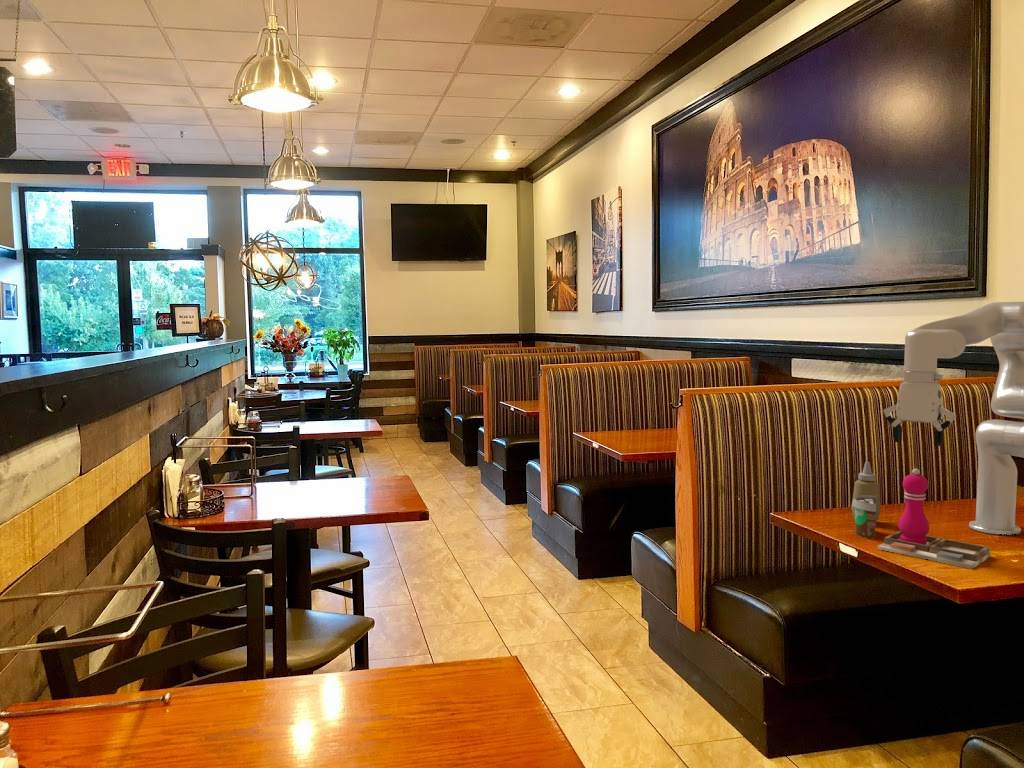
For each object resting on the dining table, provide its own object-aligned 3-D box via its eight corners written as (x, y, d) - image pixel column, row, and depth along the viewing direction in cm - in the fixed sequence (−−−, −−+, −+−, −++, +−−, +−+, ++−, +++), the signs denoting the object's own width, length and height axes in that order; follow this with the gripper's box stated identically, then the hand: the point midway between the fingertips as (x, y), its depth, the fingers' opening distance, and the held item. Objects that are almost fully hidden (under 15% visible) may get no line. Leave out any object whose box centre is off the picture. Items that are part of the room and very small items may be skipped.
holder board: (899, 538, 211) (899, 529, 211) (990, 556, 195) (991, 546, 195) (877, 549, 201) (877, 540, 201) (971, 569, 185) (972, 558, 185)
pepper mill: (932, 548, 199) (935, 471, 197) (902, 546, 201) (905, 470, 199) (923, 540, 206) (926, 466, 205) (894, 538, 208) (897, 465, 206)
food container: (852, 527, 223) (853, 493, 223) (875, 530, 221) (876, 495, 220) (850, 537, 212) (851, 502, 212) (874, 540, 210) (876, 504, 209)
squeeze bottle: (886, 522, 229) (888, 462, 227) (870, 526, 224) (873, 465, 223) (860, 517, 235) (862, 458, 234) (845, 520, 231) (847, 461, 229)
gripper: (961, 379, 196) (959, 445, 198) (890, 376, 209) (888, 438, 210) (951, 380, 191) (949, 449, 193) (879, 377, 204) (877, 441, 205)
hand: (917, 443), depth 201 cm, fingers open, 9 cm apart
